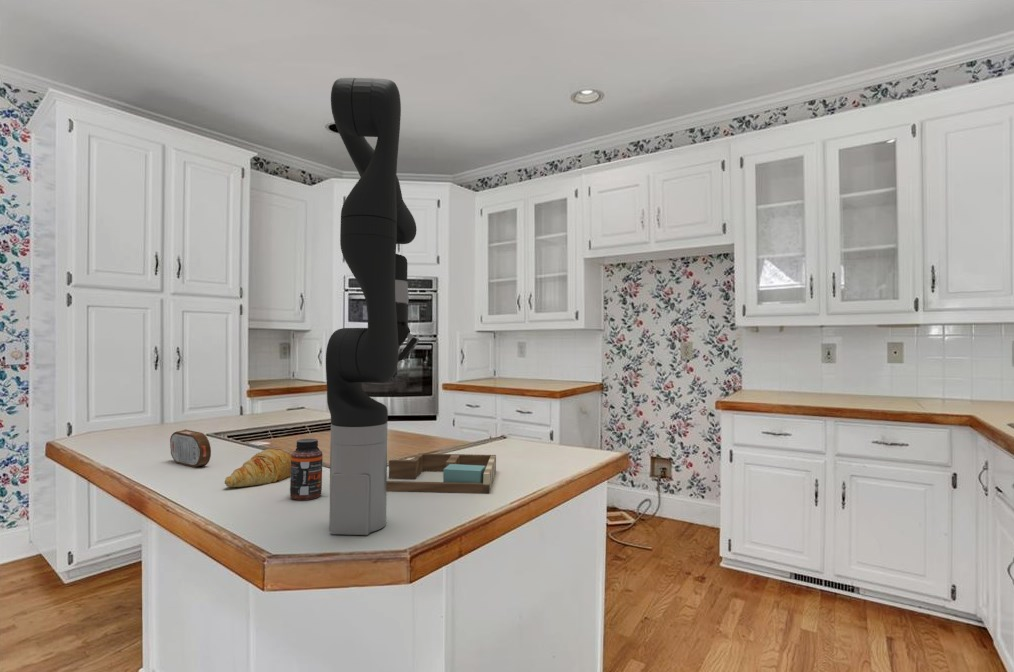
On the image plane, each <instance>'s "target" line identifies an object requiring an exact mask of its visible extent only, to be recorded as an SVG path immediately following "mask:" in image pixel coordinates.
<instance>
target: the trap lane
mask: <svg viewBox="0 0 1014 672" xmlns="http://www.w3.org/2000/svg"><path fill="white" fill-rule="evenodd" d="M449 464H460V465H481V466H485V471H484V474H483V483H458V482H443V481H414V480H416V479H417V478H418V477H419V476H420V474H421V473H422V472H437V471H443V469H444V468H446V467H447V466H448V465H449ZM496 472H497V455H496V454H472V453H471V454H469V453H468V454H463V453H462V454H461V453H460V454H459V453H418V454H417V455H415V456H414V457H413V458H412V459H389V460H388V479H389V478H390V480H387V492H402V493H403V492H408V493H415V492H416V493H446V492H447V493H448V494H449V493H450V494H452V493H454V494H456V493H457V494H490V492H491V489H492V488H491V487H492V485H493V481H494V479H495V475H496ZM391 478H392V479H393V480H391ZM395 479H396V480H395ZM399 480H401V481H399ZM403 480H404V481H403ZM407 480H408V481H407ZM409 480H410V481H409ZM411 480H413V481H411Z"/></svg>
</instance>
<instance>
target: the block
mask: <svg viewBox="0 0 1014 672" xmlns="http://www.w3.org/2000/svg"><path fill="white" fill-rule="evenodd" d="M484 471H485V466H481V465H460V464H449V465H448V466H447V467H446V468H444V469H443V475H442V477H443V478H442V479H443V480H442V482H458V483H483V474H484Z"/></svg>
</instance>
